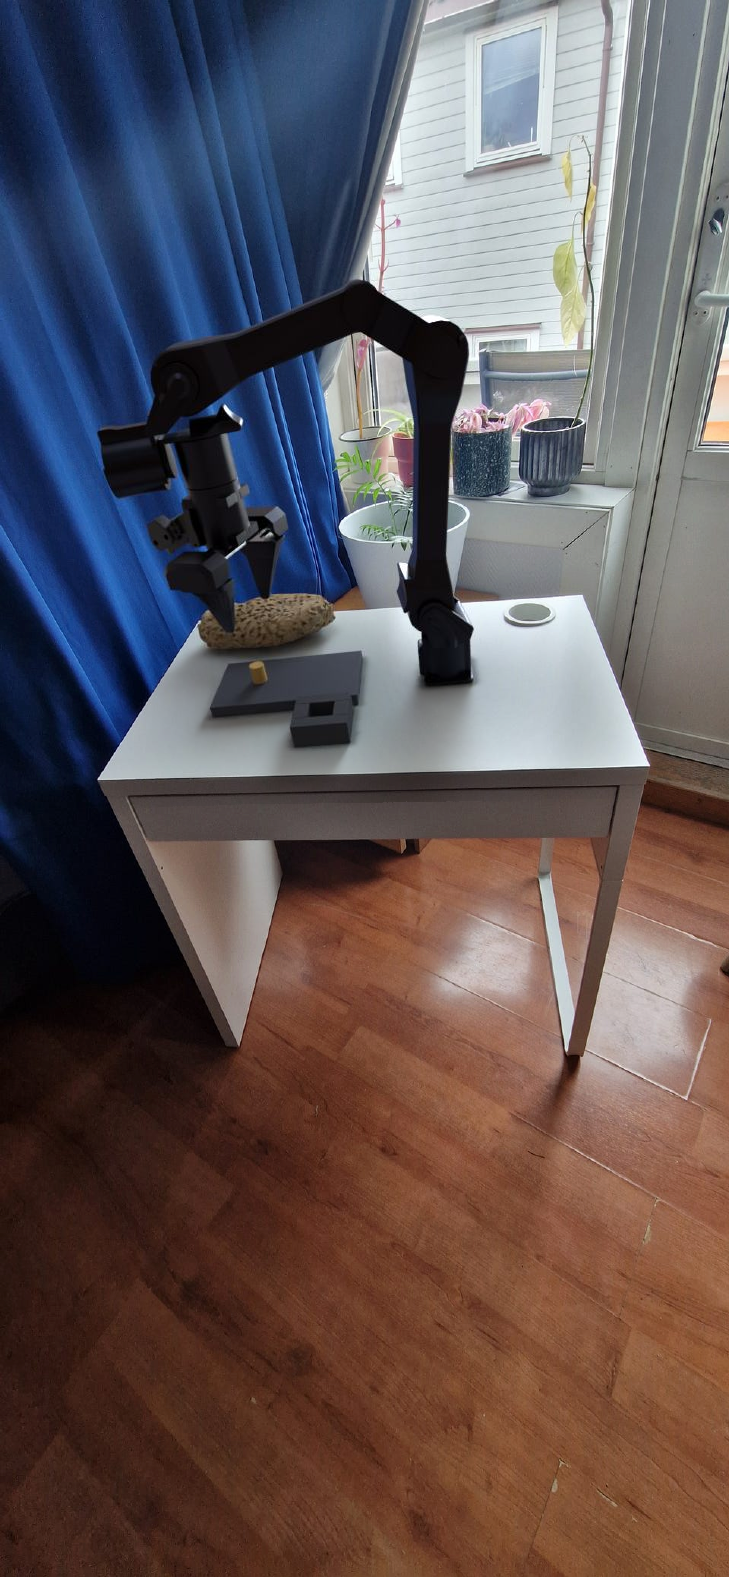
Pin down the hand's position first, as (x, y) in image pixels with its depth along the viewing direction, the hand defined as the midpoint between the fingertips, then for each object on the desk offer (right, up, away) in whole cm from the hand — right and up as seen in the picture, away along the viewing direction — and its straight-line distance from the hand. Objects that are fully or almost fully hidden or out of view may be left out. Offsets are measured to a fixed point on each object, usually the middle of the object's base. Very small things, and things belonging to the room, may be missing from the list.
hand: (248, 614), depth 81 cm
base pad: (+4, -7, +11) cm, 14 cm away
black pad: (+9, -14, +2) cm, 17 cm away
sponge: (0, +2, +23) cm, 23 cm away
